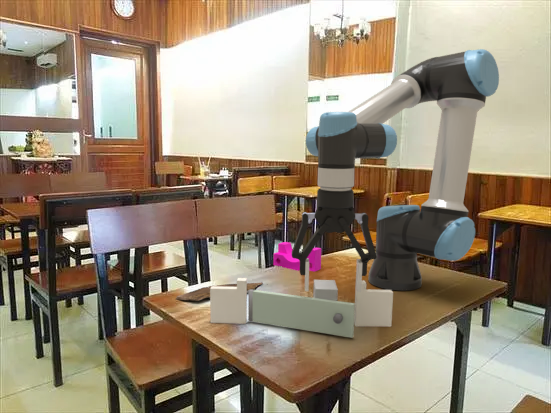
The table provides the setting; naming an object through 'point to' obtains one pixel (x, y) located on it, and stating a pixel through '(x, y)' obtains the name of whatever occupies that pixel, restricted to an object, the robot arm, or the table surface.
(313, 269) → the magenta saddle bracket
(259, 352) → the table surface
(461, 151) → the robot arm
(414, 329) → the table surface
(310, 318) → the spring door
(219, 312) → the wall frame
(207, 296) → the wooden fragment
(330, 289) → the white stepped block
